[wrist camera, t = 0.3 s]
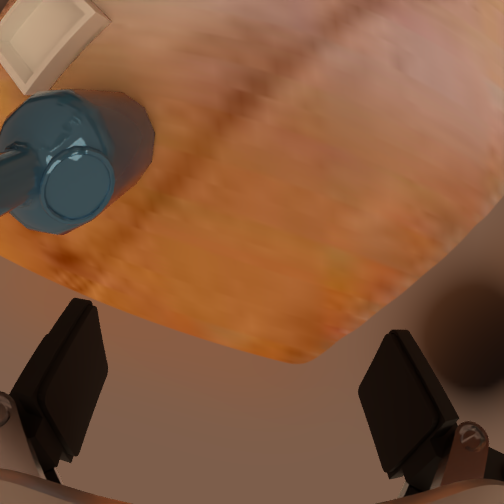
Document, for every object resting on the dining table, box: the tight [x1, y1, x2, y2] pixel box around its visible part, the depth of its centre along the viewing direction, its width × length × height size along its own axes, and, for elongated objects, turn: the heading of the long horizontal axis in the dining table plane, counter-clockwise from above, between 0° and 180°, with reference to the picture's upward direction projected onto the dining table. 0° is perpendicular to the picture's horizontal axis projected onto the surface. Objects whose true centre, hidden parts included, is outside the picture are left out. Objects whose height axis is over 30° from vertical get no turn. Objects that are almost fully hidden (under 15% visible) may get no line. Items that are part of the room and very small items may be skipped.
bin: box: [0, 0, 112, 95], centre depth 25 cm, size 13×13×5 cm
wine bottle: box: [0, 89, 155, 235], centre depth 22 cm, size 14×13×30 cm
